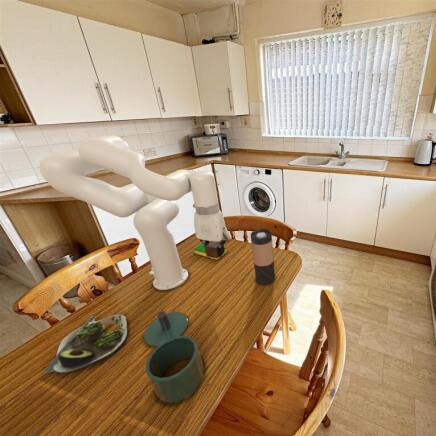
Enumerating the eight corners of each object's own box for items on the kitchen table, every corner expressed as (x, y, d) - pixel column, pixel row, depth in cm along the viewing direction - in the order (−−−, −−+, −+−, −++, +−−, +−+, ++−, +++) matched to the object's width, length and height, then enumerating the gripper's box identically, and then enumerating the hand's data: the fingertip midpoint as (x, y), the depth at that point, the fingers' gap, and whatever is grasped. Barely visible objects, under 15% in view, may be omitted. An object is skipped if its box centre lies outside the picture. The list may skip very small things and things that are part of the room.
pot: (145, 395, 56) (134, 372, 52) (177, 353, 65) (170, 331, 62) (184, 410, 53) (175, 387, 49) (212, 363, 62) (206, 341, 59)
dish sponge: (217, 260, 105) (216, 255, 104) (194, 253, 111) (193, 248, 110) (227, 251, 111) (226, 247, 110) (205, 245, 117) (204, 241, 116)
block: (206, 256, 87) (204, 246, 85) (213, 250, 90) (211, 240, 89) (217, 258, 86) (215, 248, 84) (223, 251, 89) (222, 241, 88)
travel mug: (272, 286, 89) (268, 239, 80) (252, 283, 90) (246, 238, 82) (277, 273, 96) (274, 229, 87) (259, 271, 97) (254, 228, 89)
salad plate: (62, 331, 73) (55, 320, 71) (129, 307, 81) (125, 297, 79) (43, 388, 58) (33, 376, 56) (128, 352, 66) (122, 340, 64)
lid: (135, 342, 69) (127, 326, 66) (166, 311, 79) (160, 296, 76) (169, 352, 66) (162, 336, 63) (196, 318, 76) (192, 303, 73)
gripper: (178, 210, 79) (189, 256, 87) (223, 215, 75) (230, 263, 83) (193, 202, 86) (201, 245, 93) (235, 206, 81) (240, 251, 89)
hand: (215, 253), depth 88 cm, fingers closed on block, 4 cm apart
